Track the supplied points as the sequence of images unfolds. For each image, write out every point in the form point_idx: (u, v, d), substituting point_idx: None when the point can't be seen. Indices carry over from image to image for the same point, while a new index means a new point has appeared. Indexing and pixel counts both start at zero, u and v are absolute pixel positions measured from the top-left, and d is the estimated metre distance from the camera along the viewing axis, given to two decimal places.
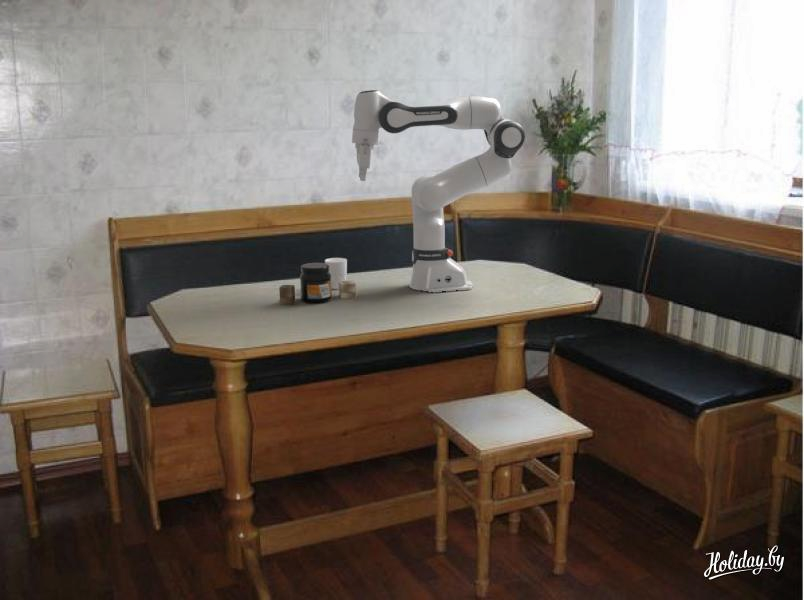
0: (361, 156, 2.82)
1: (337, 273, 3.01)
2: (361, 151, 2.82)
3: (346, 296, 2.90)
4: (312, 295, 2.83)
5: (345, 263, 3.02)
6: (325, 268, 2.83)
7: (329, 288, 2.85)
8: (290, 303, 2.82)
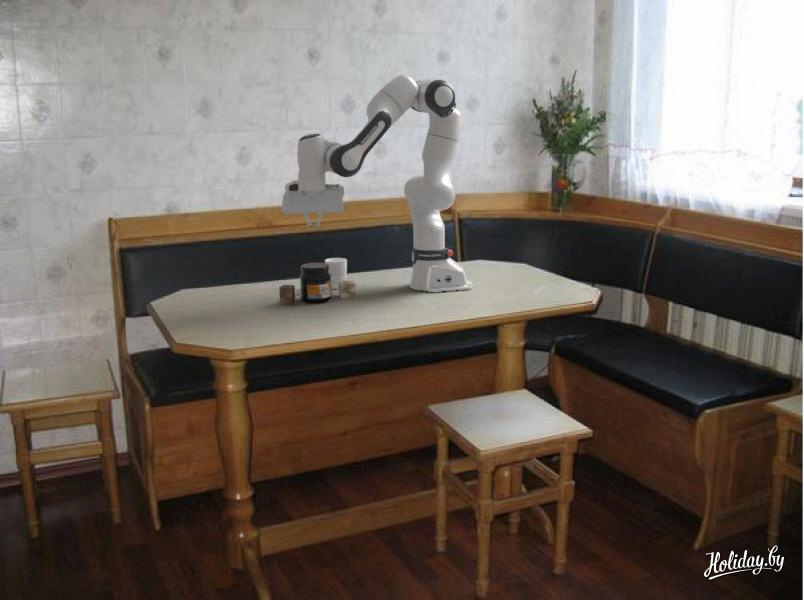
0: (342, 200, 2.80)
1: (337, 273, 3.01)
2: (341, 195, 2.79)
3: (346, 296, 2.90)
4: (312, 295, 2.83)
5: (345, 263, 3.02)
6: (325, 268, 2.83)
7: (329, 288, 2.85)
8: (290, 303, 2.82)
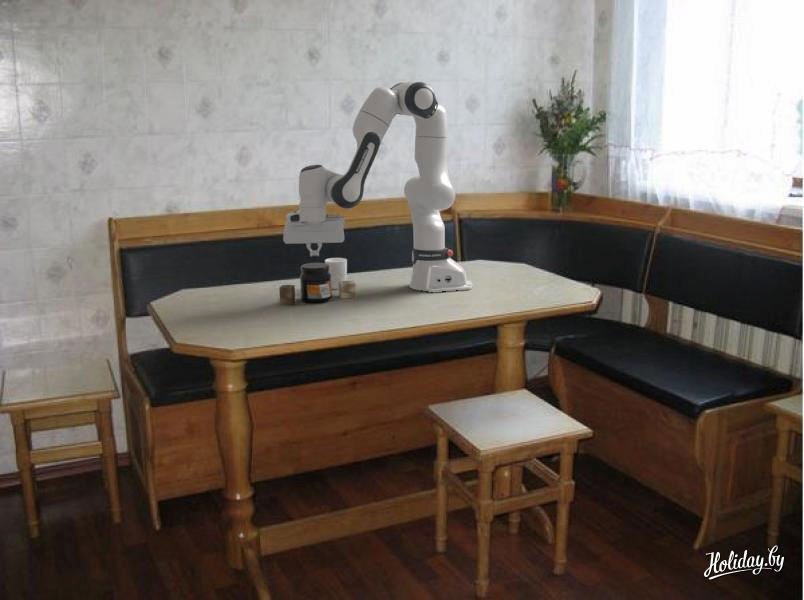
0: (343, 230, 2.82)
1: (337, 273, 3.01)
2: (342, 226, 2.82)
3: (346, 296, 2.90)
4: (312, 295, 2.83)
5: (345, 263, 3.02)
6: (325, 268, 2.83)
7: (329, 288, 2.85)
8: (290, 303, 2.82)
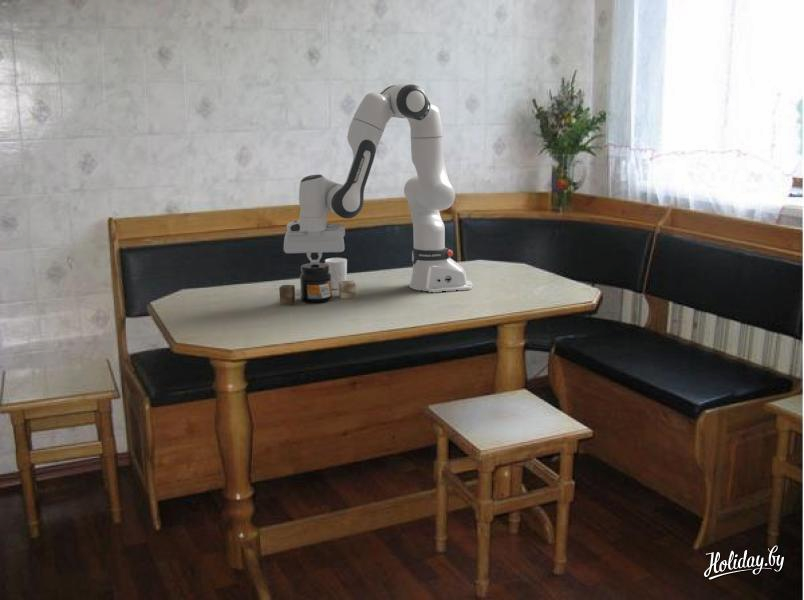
0: (343, 240, 2.83)
1: (337, 273, 3.01)
2: (342, 235, 2.82)
3: (346, 296, 2.90)
4: (312, 295, 2.83)
5: (345, 263, 3.02)
6: (325, 268, 2.83)
7: (329, 288, 2.85)
8: (290, 303, 2.82)
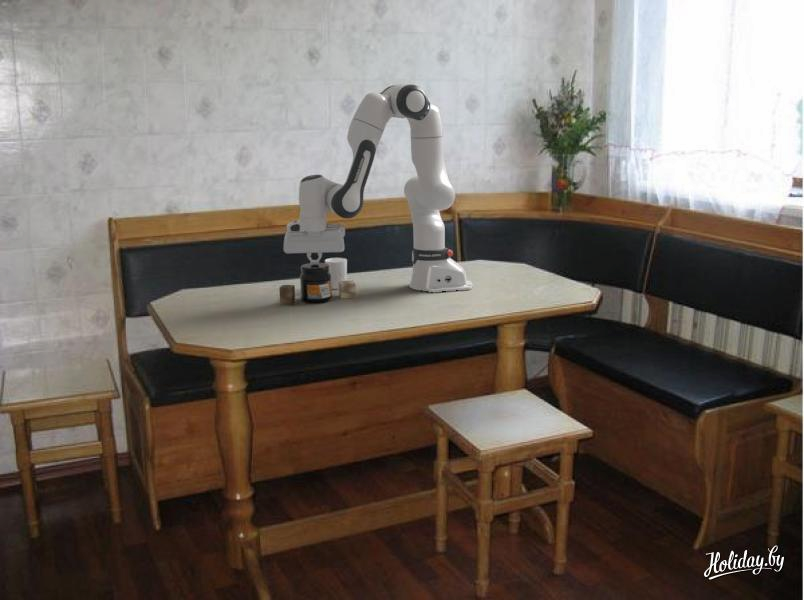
0: (343, 240, 2.83)
1: (337, 273, 3.01)
2: (342, 235, 2.82)
3: (346, 296, 2.90)
4: (312, 295, 2.83)
5: (345, 263, 3.02)
6: (325, 268, 2.83)
7: (329, 288, 2.85)
8: (290, 303, 2.82)
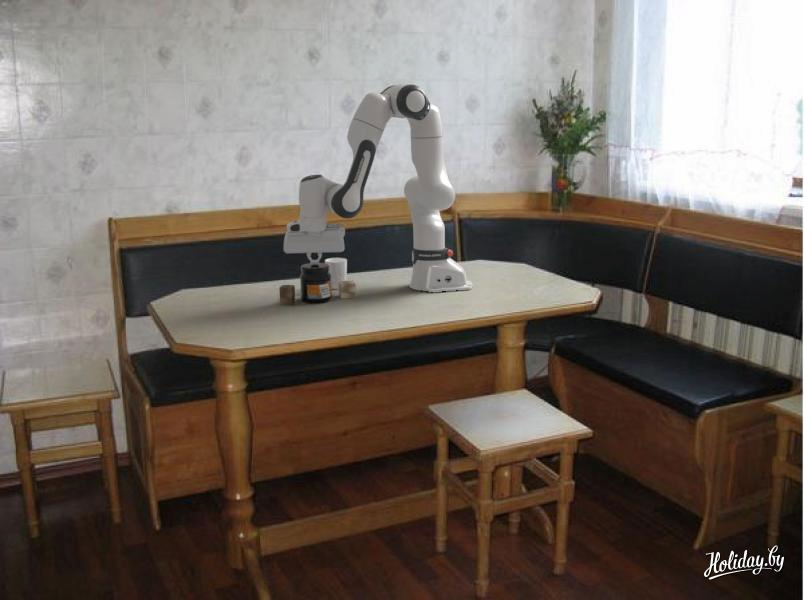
0: (343, 240, 2.83)
1: (337, 273, 3.01)
2: (342, 235, 2.82)
3: (346, 296, 2.90)
4: (312, 295, 2.83)
5: (345, 263, 3.02)
6: (325, 268, 2.83)
7: (329, 288, 2.85)
8: (290, 303, 2.82)
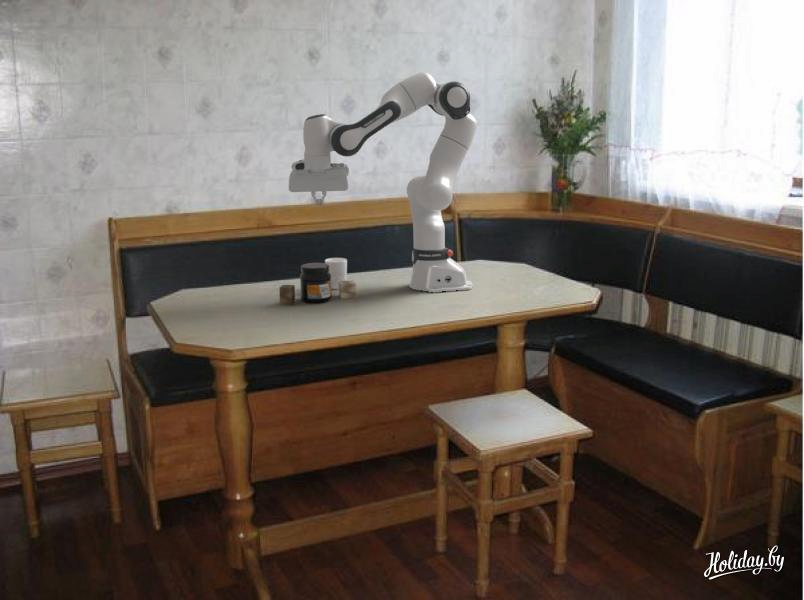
0: (347, 180, 2.89)
1: (338, 273, 3.01)
2: (346, 174, 2.88)
3: (346, 296, 2.90)
4: (312, 295, 2.83)
5: (345, 263, 3.02)
6: (325, 268, 2.83)
7: (329, 288, 2.85)
8: (290, 303, 2.82)
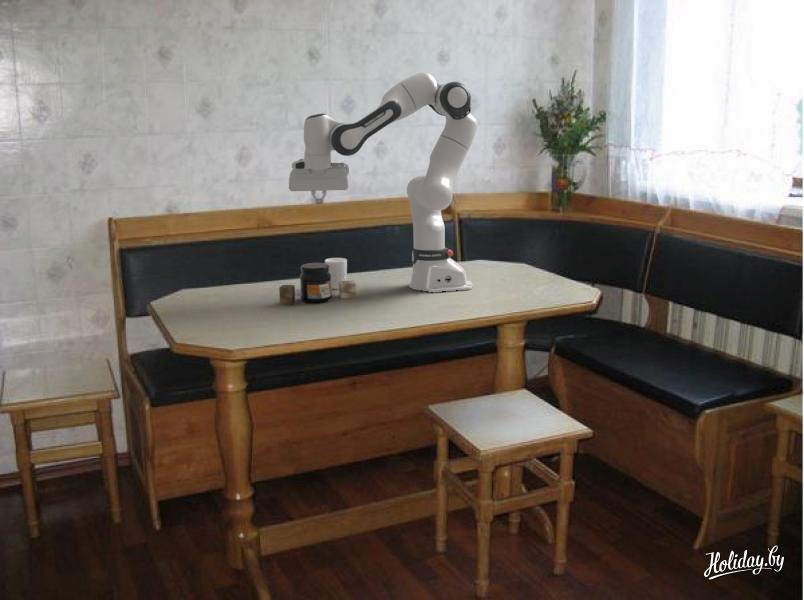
0: (347, 178, 2.89)
1: (337, 273, 3.01)
2: (346, 173, 2.88)
3: (346, 296, 2.90)
4: (312, 295, 2.83)
5: (345, 263, 3.02)
6: (325, 268, 2.83)
7: (329, 288, 2.85)
8: (290, 303, 2.82)
